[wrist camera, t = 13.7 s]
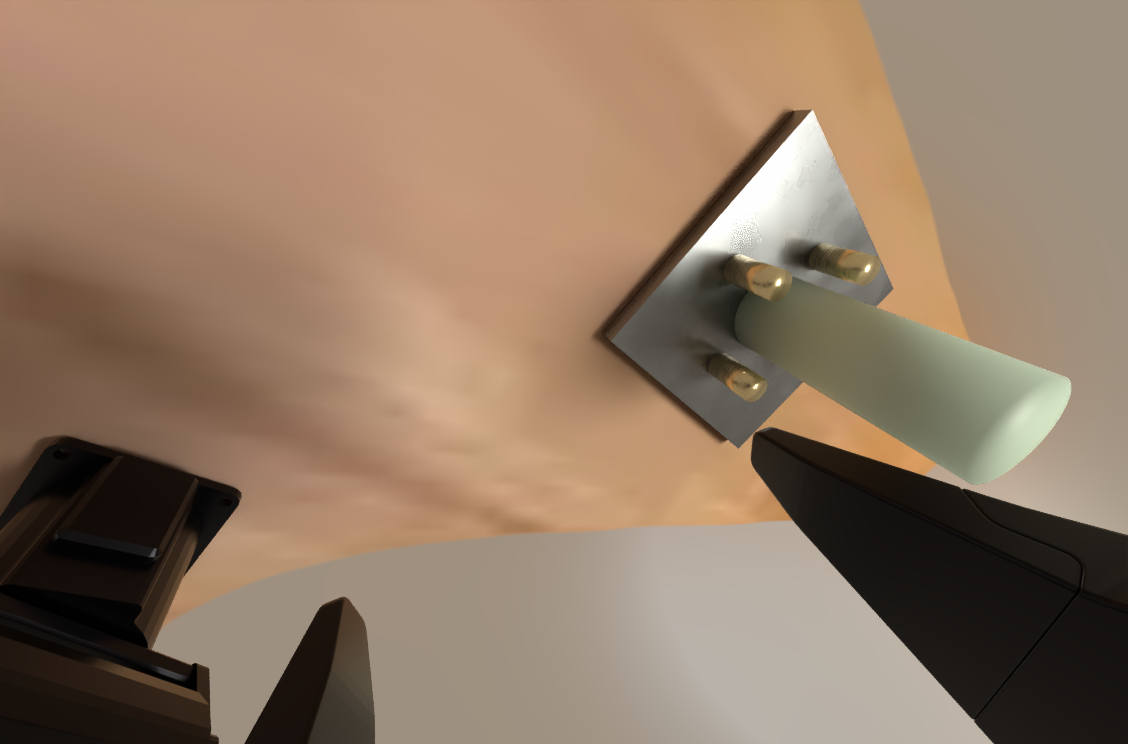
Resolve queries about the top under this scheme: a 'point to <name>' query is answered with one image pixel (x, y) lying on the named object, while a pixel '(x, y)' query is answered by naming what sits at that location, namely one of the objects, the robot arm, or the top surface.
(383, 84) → the top surface
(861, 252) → the chassis plate
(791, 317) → the mint green tapered post
